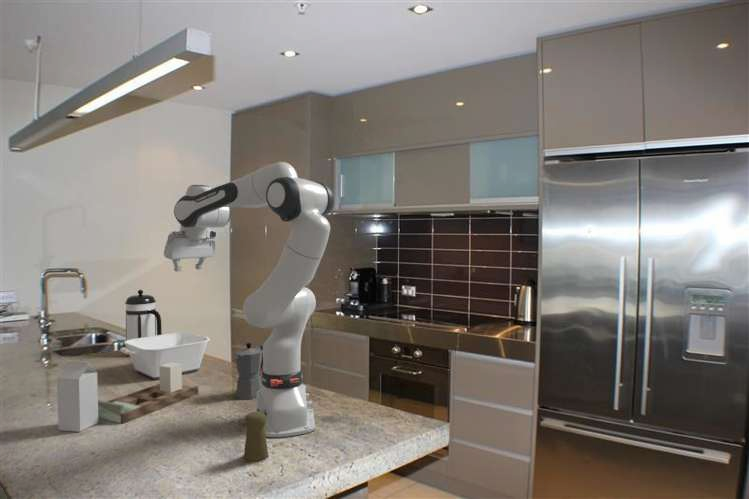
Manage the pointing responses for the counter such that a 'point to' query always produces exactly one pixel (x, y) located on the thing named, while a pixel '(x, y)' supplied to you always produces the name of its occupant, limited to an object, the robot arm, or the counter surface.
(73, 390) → the milk carton
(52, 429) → the counter surface
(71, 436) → the counter surface
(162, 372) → the cream block
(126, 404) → the box
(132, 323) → the coffee press
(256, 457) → the olive tapered knob-topped piece
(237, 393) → the coffeepot
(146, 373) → the tub
